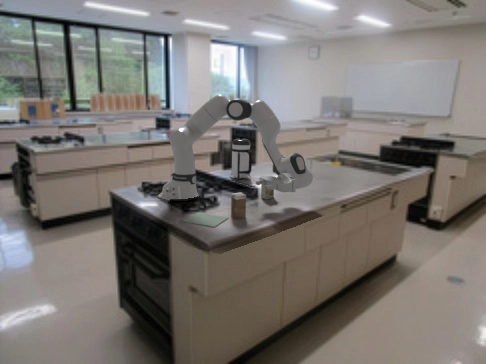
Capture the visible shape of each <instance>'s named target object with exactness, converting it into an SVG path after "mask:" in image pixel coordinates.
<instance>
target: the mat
mask: <svg viewBox="0 0 486 364" xmlns="http://www.w3.org/2000/svg"><path fill="white" fill-rule="evenodd" d="M228 219H229V217H227V216H221V215H216V214H210V213H204V212H196V213H195V214H193V215H191V216H189V217H187V218H186V219H184V220H183V223H187V224H188V223H189V224H194V225H199V226H203V227H209V228H217V227H218V226H219V225H221V224H222V223H224V222H225V221H227V220H228Z"/></svg>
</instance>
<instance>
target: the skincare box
mask: <svg viewBox="0 0 486 364" xmlns="http://www.w3.org/2000/svg"><path fill="white" fill-rule="evenodd" d="M260 185H261V188H260V190H261V191H260V198H261V199H263V200H270V199H274V196H275V190H273V189H270V190H268V189H266V186H264V185H262V184H260Z"/></svg>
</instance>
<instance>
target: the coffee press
mask: <svg viewBox="0 0 486 364" xmlns="http://www.w3.org/2000/svg"><path fill="white" fill-rule="evenodd" d="M231 145H232V147H231V174H230V176H229V178H230V179H231V178H232V179H233V178H236V181H238V182H239V181H240V179H246V178H247V179H248V180H250V179H252V177H251V173H252V166H253V165H252V164H253V163H252V161H253V160H252V159H253V157H252V153H251V141H250V140H249V139H248V138H244V136H243V135H242V134H241V135H239V138H235V139H233V140H232V142H231ZM231 176H232V177H231Z"/></svg>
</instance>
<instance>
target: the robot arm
mask: <svg viewBox="0 0 486 364" xmlns="http://www.w3.org/2000/svg"><path fill="white" fill-rule="evenodd" d="M226 116H227V117H228V118H230V119H231V120H233V121H235V122H237V121H243V120H246V119H249V120H251V121H252V122H253V124H254V125H255V126H256V127H257V128H256V129H257V130H258V132H259V134H260V137H261V142H262V144H263V147H264V149H265V151H266V153H267V155H268V157H269V159H270V160H271V162H272V167H273V166H274V169H275V172H276V175H277V176H272V175H265V176H262V175H261V176H260V177H258V180H255V185H256V186H260V185H264V186H266V189H268V190H270V189H273V190H274V191H275V190H276V191H278V192H280V193H296V191H297V190H299V189H304V188H307V187H310V185H311V184H312V183H313V180H314V176H313V173H312V172H311V171H310V170H309V169H308V167H307V166H306V161H305V159H304V157H303V156H302V155H301V154H300V153H298V152H294V153H291V154H289V155H287V156H283V154H282V153H281V152H280V149H279V147H278V146H277V142H276V141H277V137H278V134H279V133H280V131H281V123H280V121H279V118H278V117H277V116H276V114H275V113H274V111H273V109H272V108H270V106H269V105H268V104H267V103H266V102H265V101H264V100H262V99H258V100H256V101H254V102H252V103H251V102H249V101H248V100H246V99H244V98H241V97H239V98H232V99H230V100H229V98H227V97H226V96H225V95H223V94H216V95H214V96H213V97H212V98H210V99H209V100H207V101H206V102H205V103H204V104H203V105H201V106H200V108H198V109H197V110H196V111H195V112H194V113H193V114H192V115H191V116H190V118H189V119H188V120H187V121H186V122H185V123H184V124H183V125H181V126H180V127H177V128H174V129H173V130H172V132H171V133H170V134H169V137H168V138H169V139H168V141H169V143H170V145H171V150H172V154H173V159H174V161H173V162H174V172H173V173H171V174H170V175H169V176H170V177H171V179H170V180H169V181H168V182H167V183H165V184H164V185H163V186H162V190H161V192H160V193H159V194H158V195H157V198H158V199H163V200H166V201H170V199H188V198H194V197H197V196H198V197H199V194H198V191H197V172H196V158H195V155H194V149H193V145H195V143H196V142H198V141H199V140H200V139H201V138H202V137H203V136H204V135H205V134H206V133H207V132H208V131H209V130H210V129H211V128H212V127H213V126H214V125H216V124H217V123H218V122H219V121H220V120H222V118H223V117H226ZM282 156H283V157H285V158H283V157H282ZM275 172H274V173H275Z"/></svg>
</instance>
